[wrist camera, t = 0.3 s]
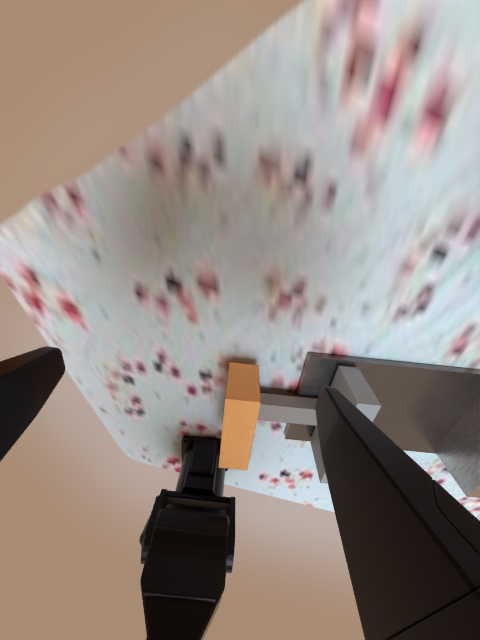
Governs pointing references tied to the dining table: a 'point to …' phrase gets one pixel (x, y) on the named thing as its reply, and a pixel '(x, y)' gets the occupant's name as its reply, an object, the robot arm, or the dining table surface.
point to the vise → (412, 408)
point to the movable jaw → (279, 411)
